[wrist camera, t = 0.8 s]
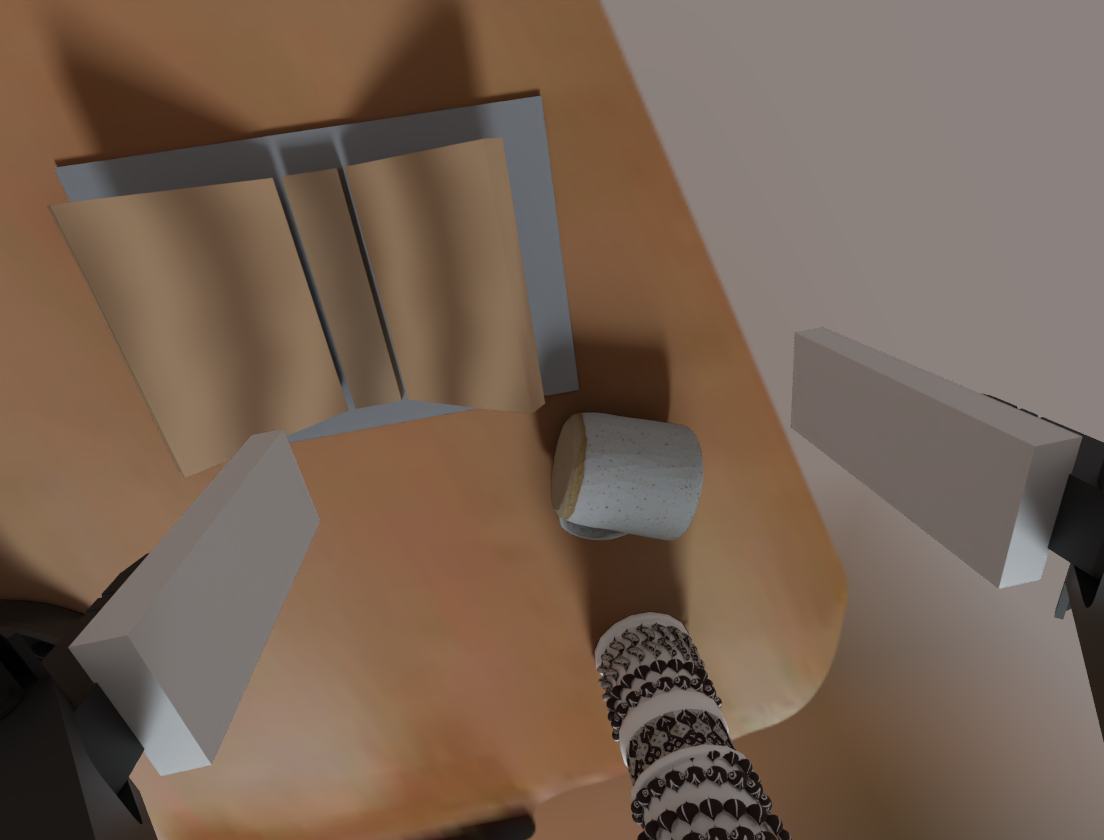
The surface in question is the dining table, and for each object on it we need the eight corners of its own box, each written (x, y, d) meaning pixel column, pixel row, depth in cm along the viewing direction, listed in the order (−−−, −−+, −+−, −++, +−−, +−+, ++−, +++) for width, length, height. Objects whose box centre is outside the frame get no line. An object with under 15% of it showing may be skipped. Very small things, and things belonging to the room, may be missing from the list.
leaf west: (178, 470, 28) (184, 477, 27) (47, 206, 23) (49, 204, 22) (338, 406, 34) (348, 410, 33) (263, 180, 28) (272, 177, 28)
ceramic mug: (563, 391, 36) (583, 443, 29) (676, 407, 38) (721, 460, 31) (533, 522, 40) (545, 595, 34) (637, 532, 42) (669, 603, 35)
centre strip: (360, 399, 34) (355, 408, 33) (290, 176, 29) (280, 176, 28) (404, 391, 35) (401, 400, 33) (342, 168, 29) (336, 168, 28)
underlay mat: (196, 457, 35) (194, 460, 35) (58, 167, 28) (53, 167, 27) (578, 388, 36) (579, 389, 36) (540, 96, 29) (541, 95, 29)
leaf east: (423, 390, 34) (408, 399, 33) (365, 164, 29) (344, 167, 28) (545, 403, 30) (531, 414, 29) (502, 137, 24) (483, 138, 23)
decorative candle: (570, 674, 47) (660, 1136, 24) (624, 595, 44) (783, 1034, 22) (656, 698, 50) (810, 1134, 27) (713, 625, 47) (937, 1043, 24)
